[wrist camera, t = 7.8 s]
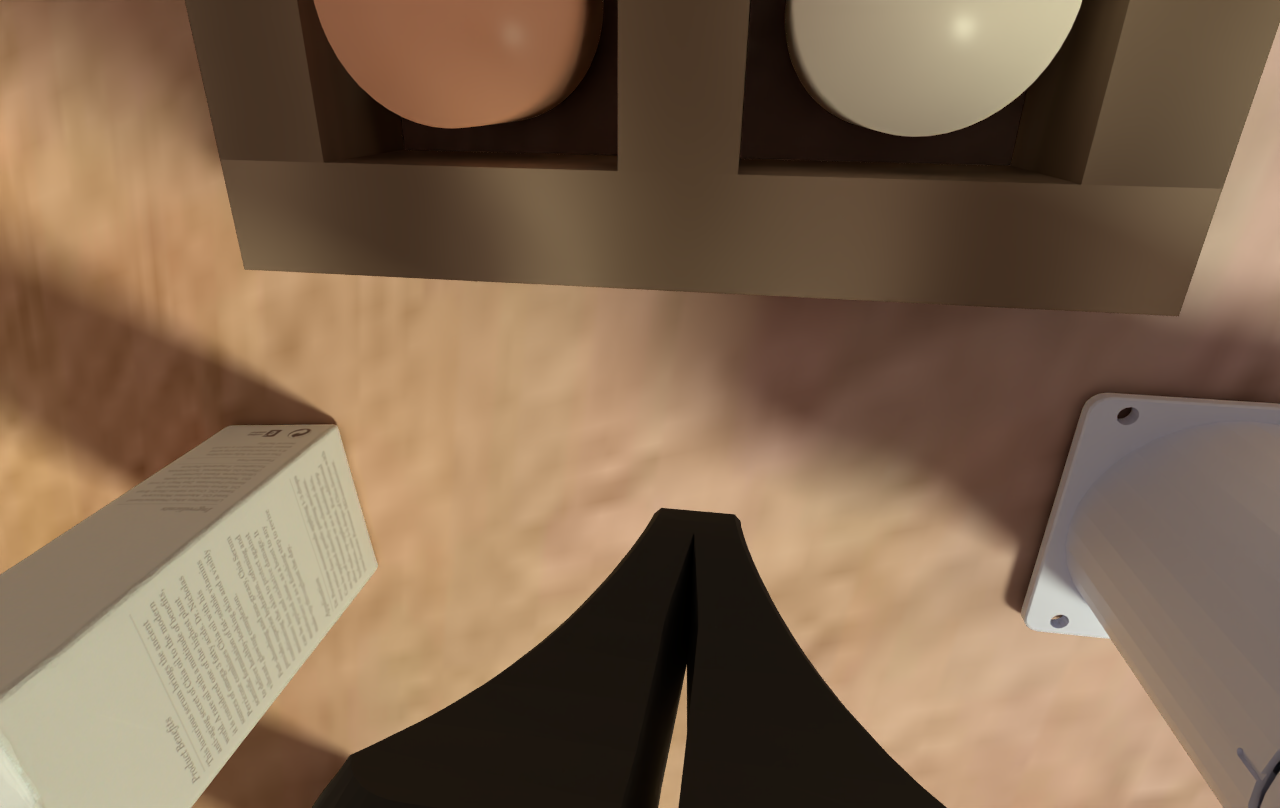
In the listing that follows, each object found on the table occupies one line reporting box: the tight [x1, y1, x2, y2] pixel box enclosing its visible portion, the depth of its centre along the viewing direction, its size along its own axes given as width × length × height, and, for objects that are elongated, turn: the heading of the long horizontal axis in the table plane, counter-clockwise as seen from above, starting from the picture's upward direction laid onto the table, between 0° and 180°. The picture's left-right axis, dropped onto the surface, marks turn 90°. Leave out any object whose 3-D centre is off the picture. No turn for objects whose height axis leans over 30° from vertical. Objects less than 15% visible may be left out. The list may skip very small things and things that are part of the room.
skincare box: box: [0, 424, 378, 808], centre depth 19 cm, size 6×4×12 cm
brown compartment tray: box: [185, 0, 1280, 316], centre depth 15 cm, size 21×12×4 cm, turn 89°
